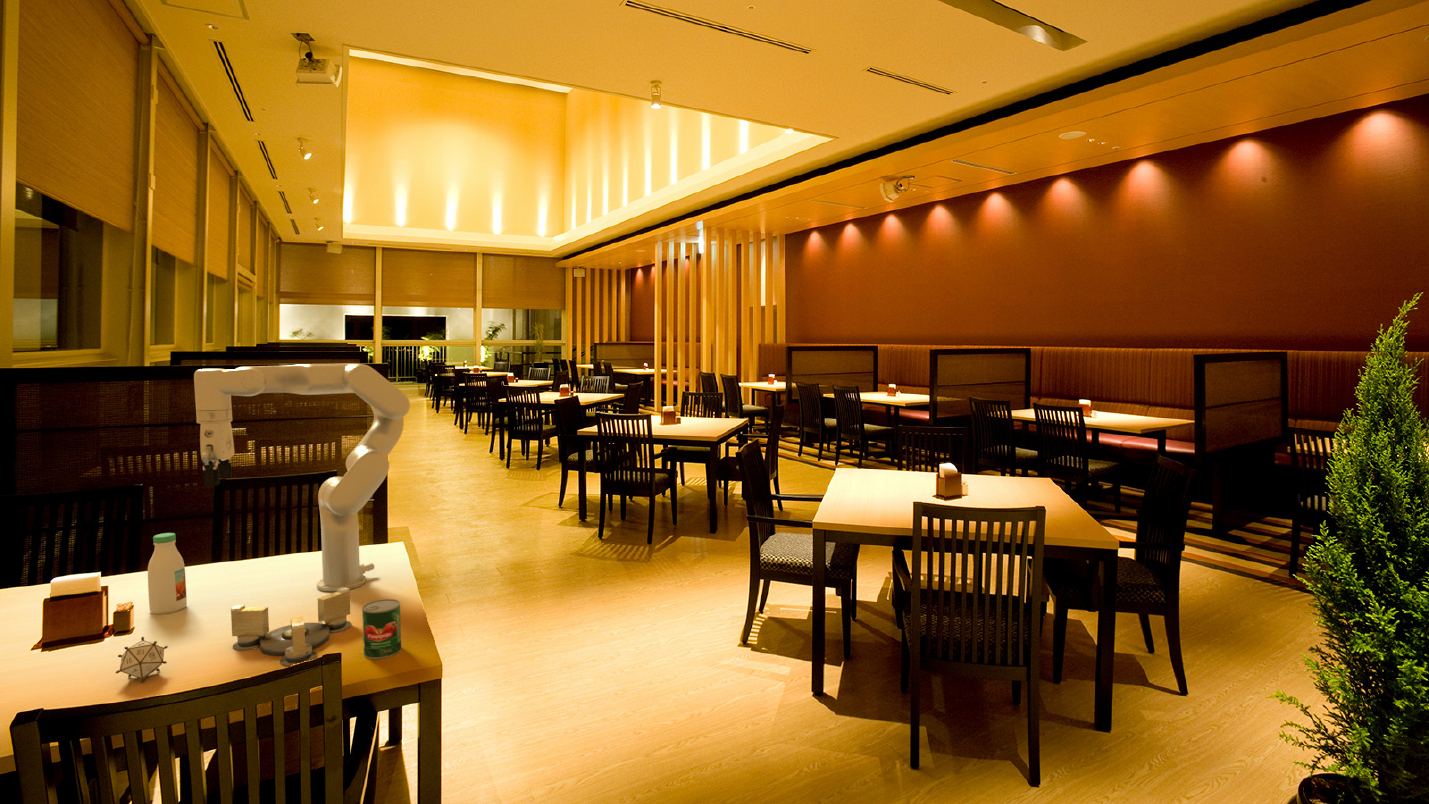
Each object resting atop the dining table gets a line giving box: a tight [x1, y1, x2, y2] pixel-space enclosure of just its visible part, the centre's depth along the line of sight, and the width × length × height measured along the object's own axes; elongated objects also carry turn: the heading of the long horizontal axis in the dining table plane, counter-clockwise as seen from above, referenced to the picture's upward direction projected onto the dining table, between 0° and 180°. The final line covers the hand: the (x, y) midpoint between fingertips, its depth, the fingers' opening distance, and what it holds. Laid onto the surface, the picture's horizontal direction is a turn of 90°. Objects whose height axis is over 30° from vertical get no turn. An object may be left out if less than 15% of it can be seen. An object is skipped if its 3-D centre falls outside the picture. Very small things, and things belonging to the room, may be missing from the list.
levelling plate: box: [232, 620, 352, 667], centre depth 166 cm, size 22×24×4 cm
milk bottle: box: [147, 532, 188, 615], centre depth 182 cm, size 8×8×20 cm
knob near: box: [317, 587, 351, 629], centre depth 172 cm, size 7×5×8 cm
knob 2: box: [284, 616, 313, 662], centre depth 155 cm, size 7×5×8 cm
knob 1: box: [230, 604, 270, 646], centre depth 162 cm, size 7×5×8 cm
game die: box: [115, 636, 169, 683], centre depth 146 cm, size 9×8×10 cm
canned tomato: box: [361, 598, 403, 660], centre depth 159 cm, size 8×8×11 cm
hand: (218, 481), depth 182 cm, fingers open, 9 cm apart
